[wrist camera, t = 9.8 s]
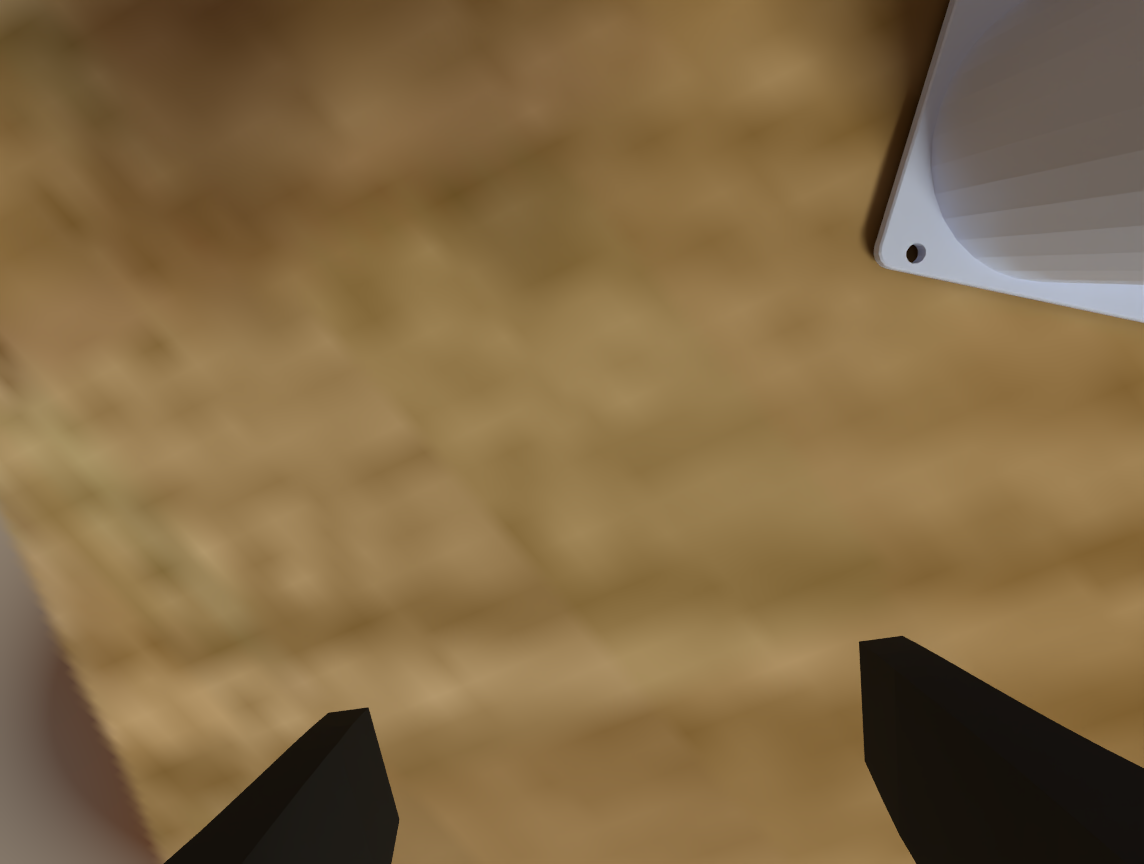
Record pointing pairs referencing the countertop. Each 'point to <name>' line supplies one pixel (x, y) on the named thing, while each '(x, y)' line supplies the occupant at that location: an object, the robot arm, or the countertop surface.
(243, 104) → the countertop surface
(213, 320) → the countertop surface
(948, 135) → the robot arm
